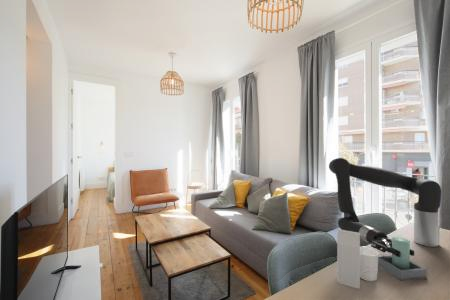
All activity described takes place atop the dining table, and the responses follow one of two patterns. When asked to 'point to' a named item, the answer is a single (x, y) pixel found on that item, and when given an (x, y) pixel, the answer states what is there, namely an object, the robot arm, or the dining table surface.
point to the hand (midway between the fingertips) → (406, 254)
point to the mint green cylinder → (404, 248)
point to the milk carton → (348, 258)
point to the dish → (402, 275)
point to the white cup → (368, 263)
